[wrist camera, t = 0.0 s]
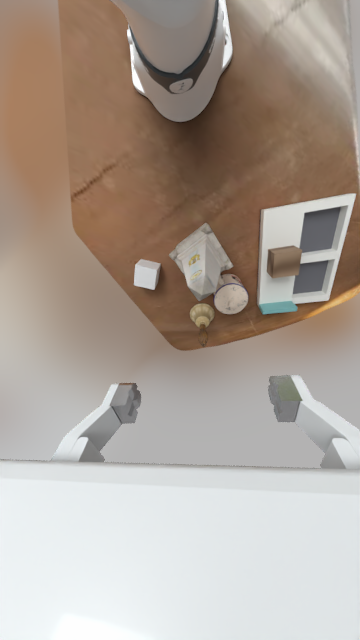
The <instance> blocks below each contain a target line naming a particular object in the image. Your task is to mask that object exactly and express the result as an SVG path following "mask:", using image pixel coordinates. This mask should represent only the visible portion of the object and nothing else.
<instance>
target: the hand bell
mask: <svg viewBox="0 0 360 640" xmlns="http://www.w3.org/2000/svg"><path fill="white" fill-rule="evenodd" d="M214 314H215V313H214V310H213V308H212V307H211V306H210V305H208V304H205V303H200V304H197V305H195V306H194V307H193V308H192V309H191V311H190V318H191V320H192V321H193V322H195V323H196V325H197V326H198V327H199V328H200V333H199V342H200V344H201V346H203V347H204V346H206V343H207V341H208V335H207V333H206V331H205V328H206V327H207V326H208V325H209V323H210V322H211V321H212V320H213V318H214Z"/></svg>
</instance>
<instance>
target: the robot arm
mask: <svg viewBox="0 0 360 640" xmlns="http://www.w3.org/2000/svg"><path fill="white" fill-rule="evenodd" d="M110 1H111V2H112V3H114V4H115V5H116V6H117V7H118V8H119V9H121V11H122V12H123V13H124V15H125V17H126V19H127V21H128V26H129V29H128V30H127V36H128V42H129V44H130V53H131V67H132V80H133V84H134V87H135V89H136V90H137V91H138V92H139V93H141V94H142V95H144V96H146V97H148V98H149V100H150V101H151V102H152V103H153V105H154V106H155V108H156V109H157V110H158V111H159V112H160V113H161V114H162V115H163V116H164V117H166V118H167V119H169V120H172V121H176V122H184V121H188V120H191V119H193V118H194V117H196V116H197V115H199V114H200V113H201V112H202V111H203V110H204V108H205V107H206V106H207V104H208V103H209V101H210V99H211V97H212V95H213V93H214V90H215V88H216V85H217V82H218V79H219V77H220V75H221V74H222V73H223V71H224V70H225V69H226V67H227V66H228V64H229V63H230V61H231V58H232V52H233V48H232V41H231V34H230V28H229V21H228V15H227V8H226V1H225V0H110ZM225 42H226V45H225ZM269 381H270V385H269V389H268V391H269V397H270V400H271V403H272V404H273V405H274V412H275V415H276V417H277V420H278V422H295V423H296V425H297V426H298V427H299V428H300V429H301V430H302V431H303V432H304V433H305V434H306V435H308V437H310V439H312V441H313V442H314V443H315V444H316V445H317V446H318V447H319V448H320V449H321V450H323V452H324V453H325V456H324V458H323V460H322V463H321V464H320V466H321V468H292V467H291V468H290V467H256V466H220V465H185V464H149V463H112V462H104V460H105V459H104V457H103V456H102V455H101V453H100V450H101V449H102V448H103V447H104V446H105V444H106V443H107V442H108V441H109V439H110V438H111V437H112V436H113V435H114V433H115V432H116V431H117V430H118V428H119V427H120V426H121V425H122V424H123V423H135V420H136V416H137V410H136V409H137V408H138V407H139V406H140V403H141V394H140V391H138V390H137V385H136V383H119V384H118V383H116V384H112V385H111V386H110V389H109V391H108V393H107V395H106V397H105V399H104V401H103V403H102V405H101V406H99V407H98V408H97V409H95V410H94V411H93V412H92V413H91V414H90V415H88V416H87V417H86V418H85V419H84V420H83V421H82V422H80V423H79V424H78V425H77V426H76V427H75V428H74V429H72V430H71V431H70V432H69V433H68V434H67V435H65V436H64V438H63V440H62V442H61V443H60V445H59V447H58V449H57V451H56V452H55V454H54V456H53V457H52V459H51V461H40V460H39V461H38V460H4V459H0V640H360V430H359V429H357V428H356V427H354V426H353V425H351V424H350V423H348V422H347V421H346V420H344V419H343V418H341V417H340V416H339V415H337V414H336V413H334V412H333V411H332V410H330V409H329V408H327V407H326V406H324V405H323V404H322V403H320V402H319V401H315V400H314V399H313V397H312V395H311V394H310V392H309V390H308V388H307V386H306V385H305V383H304V381H303V379H302V378H301V376H300V375H289V376H288V375H287V376H271V377H270V379H269Z"/></svg>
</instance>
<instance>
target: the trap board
mask: <svg viewBox="0 0 360 640" xmlns="http://www.w3.org/2000/svg"><path fill="white" fill-rule="evenodd" d="M355 197H356V194H343V195H338V196H333V197H327V198H322V199H316V200H311V201H306V202H300V203H295V204H289V205H284V206H278V207H273V208H268V209H262V210H260V234H259V258H258V282H257V305H258V307H259V308H260V310H261V312H262V314H272V313H282V312H292V311H297V306H296V305H295V304H299V303H308V302H318V301H328V300H329V297H330V293H331V289H332V285H333V281H334V277H335V274H336V270H337V266H338V262H339V258H340V254H341V251H342V247H343V243H344V239H345V235H346V231H347V228H348V224H349V220H350V216H351V212H352V208H353V205H354V201H355ZM293 245H294V246H296V247H298V248H300V249H301V250H302V255H301V262H300V268H299V274H298V275H295V276H287V277H279V278H272V277H271V276H270V275H269V274H268V273H267V258H268V249H273V248H279V247H286V246H293Z"/></svg>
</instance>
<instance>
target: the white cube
mask: <svg viewBox="0 0 360 640" xmlns="http://www.w3.org/2000/svg"><path fill="white" fill-rule="evenodd" d="M160 266H161V264H160V263H156V262H151V261H147V260H143V259H141V260H140V261H139V262H138V263H137V264H136V265H135V276H134V285H135V286H139V287H144V288H148V289H152V290H154V289H155V287H156V285H157V283H158V279H159V273H160Z"/></svg>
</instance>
